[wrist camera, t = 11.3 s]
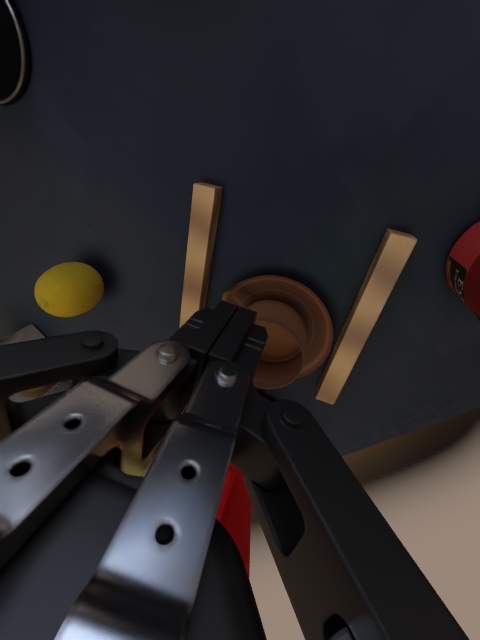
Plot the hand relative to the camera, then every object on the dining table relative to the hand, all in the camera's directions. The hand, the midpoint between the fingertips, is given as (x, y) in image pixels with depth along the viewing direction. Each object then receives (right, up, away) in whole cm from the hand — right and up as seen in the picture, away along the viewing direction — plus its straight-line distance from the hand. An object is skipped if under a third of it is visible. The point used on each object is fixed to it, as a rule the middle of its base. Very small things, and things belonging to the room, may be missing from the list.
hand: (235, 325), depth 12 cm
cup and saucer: (+4, 0, +19) cm, 19 cm away
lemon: (-17, +5, +23) cm, 29 cm away
